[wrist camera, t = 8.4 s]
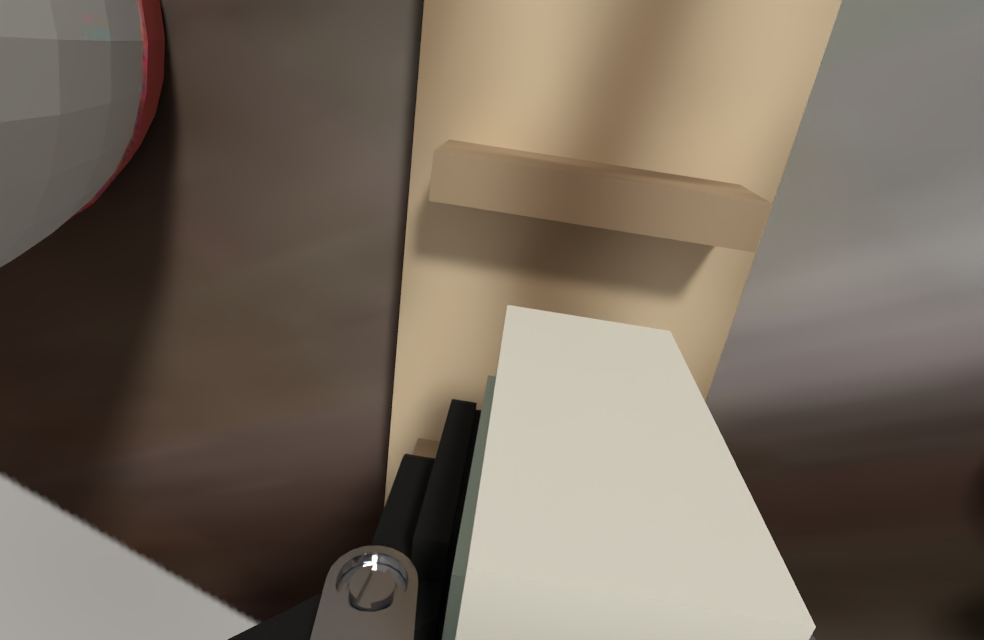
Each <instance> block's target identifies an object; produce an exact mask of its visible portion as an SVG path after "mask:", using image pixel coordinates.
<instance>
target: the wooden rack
mask: <svg viewBox="0 0 984 640" xmlns="http://www.w3.org/2000/svg"><path fill="white" fill-rule="evenodd" d="M841 2H842V0H424V10H423V22H422V35H421V48H420V60H419V73H418V86H417V98H416V111H415V124H414V136H413V149H412V162H411V174H410V187H409V200H408V212H407V225H406V238H405V250H404V263H403V276H402V288H401V301H400V314H399V326H398V339H397V352H396V364H395V377H394V390H393V402H392V415H391V428H390V440H389V453H388V466H387V478H386V491H385V504H384V507H385V505H386V502H387V499H388V496H389V493H390V491H391V488H392V485H393V482H394V480H395V477H396V474H397V471H398V469H399V466H400V463H401V460H402V458H403V456H404V454H411V455H417V456H423V457H429V458H436V454H437V450H438V447H439V443H440V440H441V436H442V432H443V429H444V425H445V422H446V418H447V414H448V411H449V407H450V404H451V400H452V399H457V400H463V401H469V402H475V403H477V406H476V410H482V405H483V399H484V394H485V388H486V383H487V377H488V375H490V376H496V372H497V366H498V359H499V353H500V347H501V341H502V335H503V328H504V322H505V316H506V310H507V305H512V306H518V307H524V308H530V309H537V310H543V311H549V312H555V313H562V314H568V315H574V316H580V317H587V318H593V319H599V320H605V321H612V322H618V323H624V324H630V325H637V326H643V327H649V328H655V329H662V330H668V331H670V332H671V334H672V336H673V338H674V340H675V342H676V344H677V346H678V348H679V350H680V352H681V354H682V356H683V358H684V360H685V362H686V364H687V366H688V368H689V370H690V372H691V374H692V376H693V378H694V380H695V382H696V384H697V386H698V388H699V391H700V393H701V395H702V397H703V399H704V401H706V398H707V395H708V392H709V389H710V386H711V383H712V381H713V378H714V375H715V372H716V369H717V366H718V363H719V360H720V357H721V354H722V351H723V348H724V345H725V342H726V339H727V337H728V334H729V331H730V328H731V325H732V322H733V319H734V316H735V313H736V310H737V307H738V304H739V301H740V298H741V295H742V293H743V290H744V287H745V284H746V281H747V278H748V275H749V272H750V269H751V266H752V263H753V260H754V257H755V254H756V251H757V248H758V246H759V243H760V240H761V237H762V234H763V231H764V228H765V225H766V222H767V219H768V216H769V213H770V210H771V207H772V204H773V202H774V199H775V196H776V193H777V190H778V187H779V184H780V181H781V178H782V175H783V172H784V169H785V166H786V163H787V160H788V158H789V155H790V152H791V149H792V146H793V143H794V140H795V137H796V134H797V131H798V128H799V125H800V122H801V119H802V116H803V114H804V111H805V108H806V105H807V102H808V99H809V96H810V93H811V90H812V87H813V84H814V81H815V78H816V75H817V72H818V70H819V67H820V64H821V61H822V58H823V55H824V52H825V49H826V46H827V43H828V40H829V37H830V34H831V31H832V28H833V26H834V23H835V20H836V17H837V14H838V11H839V8H840V5H841Z"/></svg>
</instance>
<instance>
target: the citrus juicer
mask: <svg viewBox="0 0 984 640" xmlns="http://www.w3.org/2000/svg"><path fill="white" fill-rule="evenodd" d="M164 56H165V35H164V28H163V20H162V13H161V6H160V0H0V267H2V266H4V265H5V264H7V263H9V262H10V261H12V260H13V259H15V258H17V257H18V256H20V255H21V254H23V253H24V252H26V251H27V250H28V249H30V248H31V247H33V246H34V245H36V244H37V243H39V242H40V241H42V240H43V239H44V238H46V237H47V236H49V235H50V234H52V233H53V232H54V231H55V230H57V229H58V228H59V227H60V226H61V225H62V224H64V223H66V222H67V221H68V220H70V219H71V218H73V217H74V216H76V215H77V214H79V213H80V212H82V211H83V210H84V209H86V208H87V207H89V206H90V205H92V204H93V203H95V202H96V200H97V199H98V198H99V197H100V196H101V194H102V193H103V192H104V191H105V190H106V188H107V187H108V186H109V185H110V184H111V183H112V181H113V180H114V179H115V178H116V177H117V175H118V174H119V173H120V172H121V171H122V169H123V168H124V167H125V166H126V165H127V163H128V162H129V161H130V160H131V159H132V157H133V156H134V154H135V153H136V151H137V150H138V148H139V147H140V145H141V143H142V141H143V139H144V137H145V135H146V133H147V131H148V129H149V127H150V125H151V123H152V121H153V119H154V117H155V114H156V110H157V106H158V102H159V97H160V93H161V89H162V84H163V80H164Z"/></svg>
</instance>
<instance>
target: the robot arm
mask: <svg viewBox="0 0 984 640" xmlns="http://www.w3.org/2000/svg"><path fill="white" fill-rule="evenodd" d="M476 406H477V403H475V402H469V401H463V400H457V399H452V400H451V404H450V407H449V411H448V414H447V418H446V422H445V425H444V429H443V432H442V436H441V440H440V443H439V447H438V450H437V454H436V458H429V457H423V456H417V455H411V454H404V456H403V458H402V460H401V463H400V466H399V469H398V471H397V474H396V477H395V480H394V482H393V485H392V488H391V491H390V493H389V496H388V499H387V502H386V505H385V507H384V510H383V513H382V516H381V518H380V521H379V524H378V527H377V529H376V532H375V535H374V538H373V540H372V543H371V546H364V547H360V548H357V549H354V550H351V551H349V552H348V553H346V554H344V555H343V556H341V557H340V558H339V559H338V560H337V561H336V562H335V563H334V564H333V565H332V566H331V568H330V571H329V573H328V575H327V577H326V581H325V584H324V588H323V592H322V593H320V594H318V595H316V596H314V597H312V598H310V599H308V600H306V601H304V602H302V603H300V604H298V605H296V606H294V607H292V608H290V609H288V610H286V611H284V612H282V613H280V614H278V615H276V616H274V617H272V618H270V619H268V620H266V621H264V622H262V623H260V624H258V625H256V626H254V627H252V628H250V629H248V630H246V631H244V632H242V633H240V634H238V635H236V636H234V637H232V638H230V639H228V640H442V636H443V629H444V623H445V616H446V609H447V603H448V596H449V589H450V583H451V576H452V570H453V565H454V559H455V554H456V548H457V543H458V537H459V532H460V526H461V521H462V515H463V510H464V504H465V499H466V493H467V488H468V482H469V477H470V471H471V466H472V460H473V455H474V449H475V444H476V438H477V433H478V427H479V421H480V416H481V410H476ZM809 640H816V639H815V638H814V637H813V636H812V635H811V637H810V639H809Z"/></svg>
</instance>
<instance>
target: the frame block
mask: <svg viewBox="0 0 984 640" xmlns="http://www.w3.org/2000/svg"><path fill="white" fill-rule="evenodd" d="M815 627H816V626H815V624H814V622H813V620H812V618H811V616H810V614H809V612H808V610H807V608H806V606H805V604H804V602H803V600H802V598H801V596H800V594H799V592H798V590H797V588H796V586H795V584H794V582H793V580H792V578H791V576H790V574H789V572H788V570H787V567H786V565H785V563H784V561H783V559H782V557H781V555H780V553H779V551H778V549H777V547H776V545H775V543H774V541H773V539H772V537H771V535H770V533H769V531H768V529H767V527H766V525H765V523H764V521H763V519H762V517H761V515H760V513H759V511H758V508H757V506H756V504H755V502H754V500H753V498H752V496H751V494H750V492H749V490H748V488H747V486H746V484H745V482H744V480H743V478H742V476H741V474H740V472H739V470H738V468H737V466H736V464H735V462H734V460H733V458H732V456H731V454H730V452H729V449H728V447H727V445H726V443H725V441H724V439H723V437H722V435H721V433H720V431H719V429H718V427H717V425H716V423H715V421H714V419H713V417H712V415H711V413H710V411H709V409H708V407H707V405H706V403H705V401H704V399H703V397H702V395H701V393H700V391H699V388H698V386H697V384H696V382H695V380H694V378H693V376H692V374H691V372H690V370H689V368H688V366H687V364H686V362H685V360H684V358H683V356H682V354H681V352H680V350H679V348H678V346H677V344H676V342H675V340H674V338H673V336H672V334H671V332H670V331H668V330H662V329H655V328H649V327H643V326H637V325H630V324H624V323H618V322H612V321H605V320H599V319H593V318H587V317H580V316H574V315H568V314H562V313H555V312H549V311H543V310H537V309H530V308H524V307H518V306H512V305H507V310H506V316H505V322H504V328H503V335H502V341H501V347H500V353H499V359H498V366H497V372H496V376H490V375H488V377H487V383H486V388H485V394H484V399H483V405H482V410H481V416H480V421H479V427H478V433H477V438H476V444H475V449H474V455H473V460H472V466H471V471H470V477H469V482H468V488H467V493H466V499H465V504H464V510H463V515H462V521H461V526H460V532H459V537H458V543H457V548H456V554H455V559H454V565H453V570H452V576H451V583H450V589H449V596H448V603H447V609H446V616H445V623H444V629H443V636H442V640H809V639H810V637H811V635H812V633H813V631H814V629H815Z"/></svg>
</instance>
